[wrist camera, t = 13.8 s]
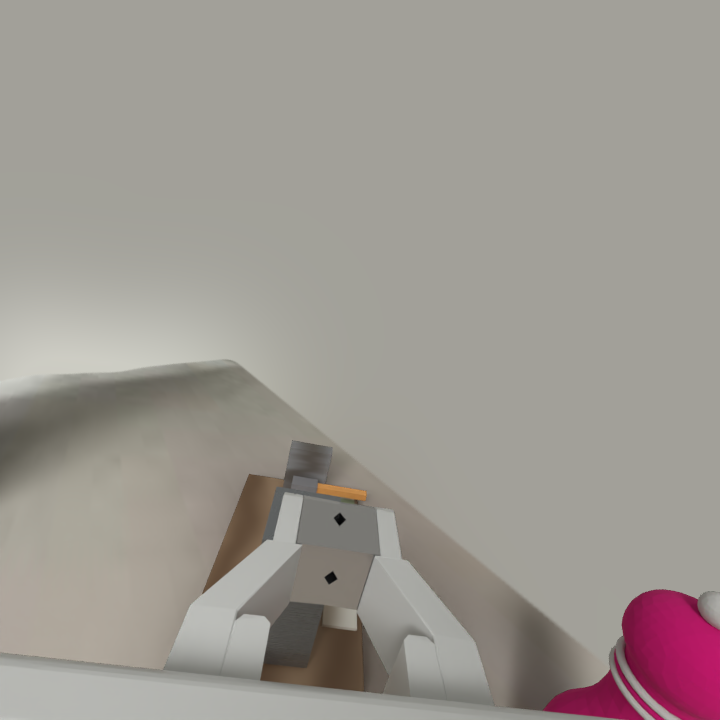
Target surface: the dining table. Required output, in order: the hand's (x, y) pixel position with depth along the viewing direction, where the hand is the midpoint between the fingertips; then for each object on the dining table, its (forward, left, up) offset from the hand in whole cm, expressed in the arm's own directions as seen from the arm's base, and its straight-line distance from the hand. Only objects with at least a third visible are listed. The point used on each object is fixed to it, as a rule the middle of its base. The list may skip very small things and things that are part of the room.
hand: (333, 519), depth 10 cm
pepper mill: (+22, +5, -26) cm, 35 cm away
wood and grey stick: (+3, +28, -24) cm, 37 cm away
